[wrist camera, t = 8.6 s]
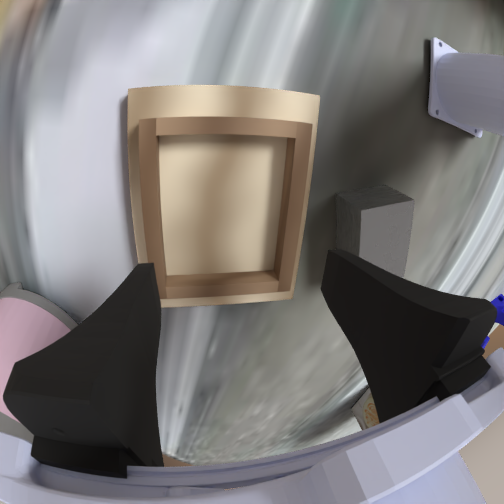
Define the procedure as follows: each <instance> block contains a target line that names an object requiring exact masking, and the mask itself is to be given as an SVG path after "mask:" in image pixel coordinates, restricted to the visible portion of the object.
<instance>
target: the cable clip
mask: <svg viewBox="0 0 504 504" xmlns="http://www.w3.org/2000/svg"><path fill="white" fill-rule="evenodd" d="M491 303H492V304H493V305H494V306H495V307H496V308H497V318H496V320H495V322H496V323H499V324H501V325H503V326H504V296H503V295H502V294H500V295H499V296H498V297H497V298H495V299H494V300H493V301H491ZM489 339H490V338H489V337H488V336H487V337H486V338H485V340H484V342H483V343H482V345H481V347H482V348H483V349H484V348H485V346H486V344H487V343H488V341H489Z"/></svg>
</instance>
